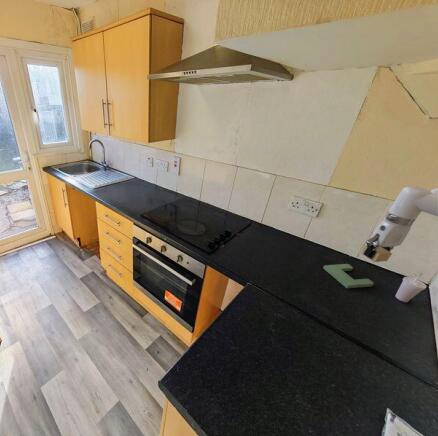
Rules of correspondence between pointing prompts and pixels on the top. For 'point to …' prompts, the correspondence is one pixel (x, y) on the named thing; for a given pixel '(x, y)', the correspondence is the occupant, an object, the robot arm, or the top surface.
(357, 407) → the top surface
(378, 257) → the tan block
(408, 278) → the smoothie
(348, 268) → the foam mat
